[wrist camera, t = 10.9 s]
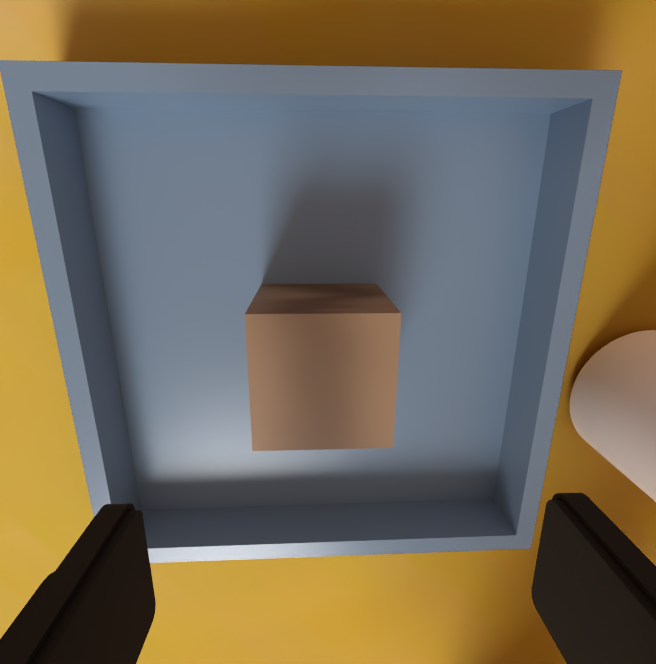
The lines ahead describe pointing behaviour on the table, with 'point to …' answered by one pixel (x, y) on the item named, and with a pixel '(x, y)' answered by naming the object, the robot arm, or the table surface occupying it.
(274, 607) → the table surface
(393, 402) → the walnut block
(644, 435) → the beverage can
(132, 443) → the slate tray
